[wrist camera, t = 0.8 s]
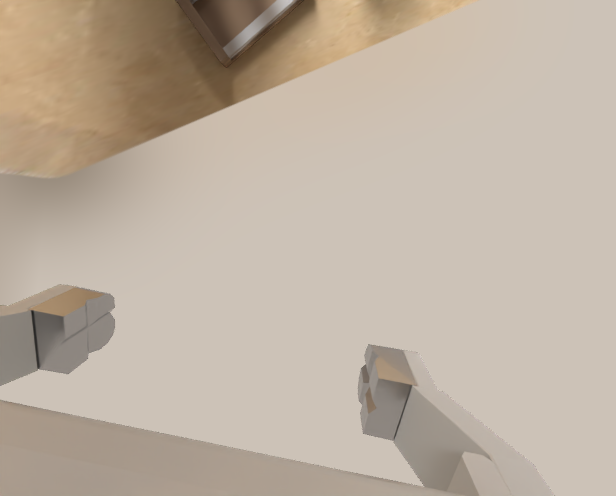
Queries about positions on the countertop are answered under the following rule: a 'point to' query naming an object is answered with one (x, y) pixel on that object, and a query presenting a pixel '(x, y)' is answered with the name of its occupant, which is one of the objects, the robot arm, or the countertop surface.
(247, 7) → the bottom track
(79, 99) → the countertop surface
